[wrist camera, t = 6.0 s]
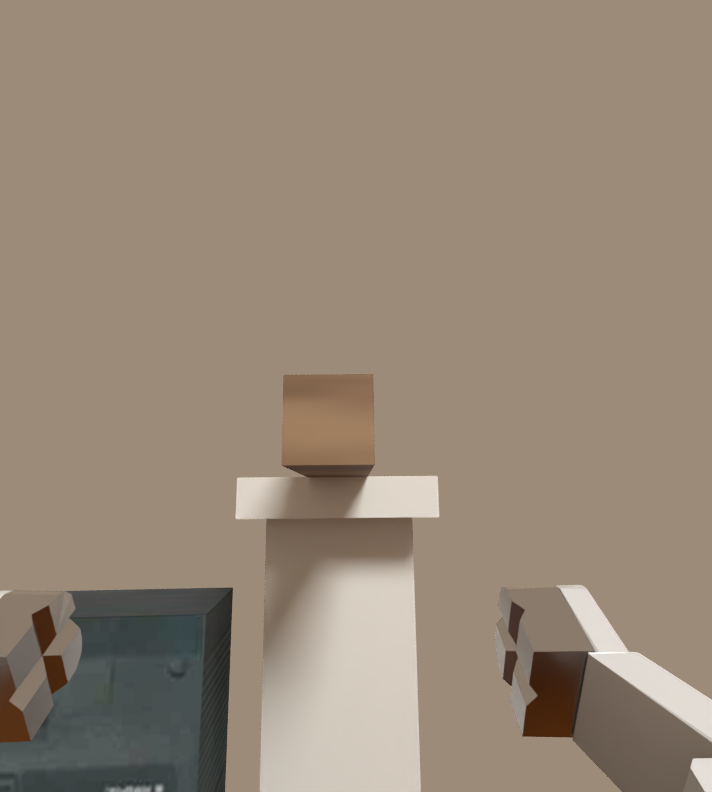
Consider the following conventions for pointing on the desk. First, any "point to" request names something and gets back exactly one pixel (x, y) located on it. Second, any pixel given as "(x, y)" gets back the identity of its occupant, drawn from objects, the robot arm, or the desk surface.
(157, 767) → the cassette player
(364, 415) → the brown block
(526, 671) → the robot arm
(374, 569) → the stand
